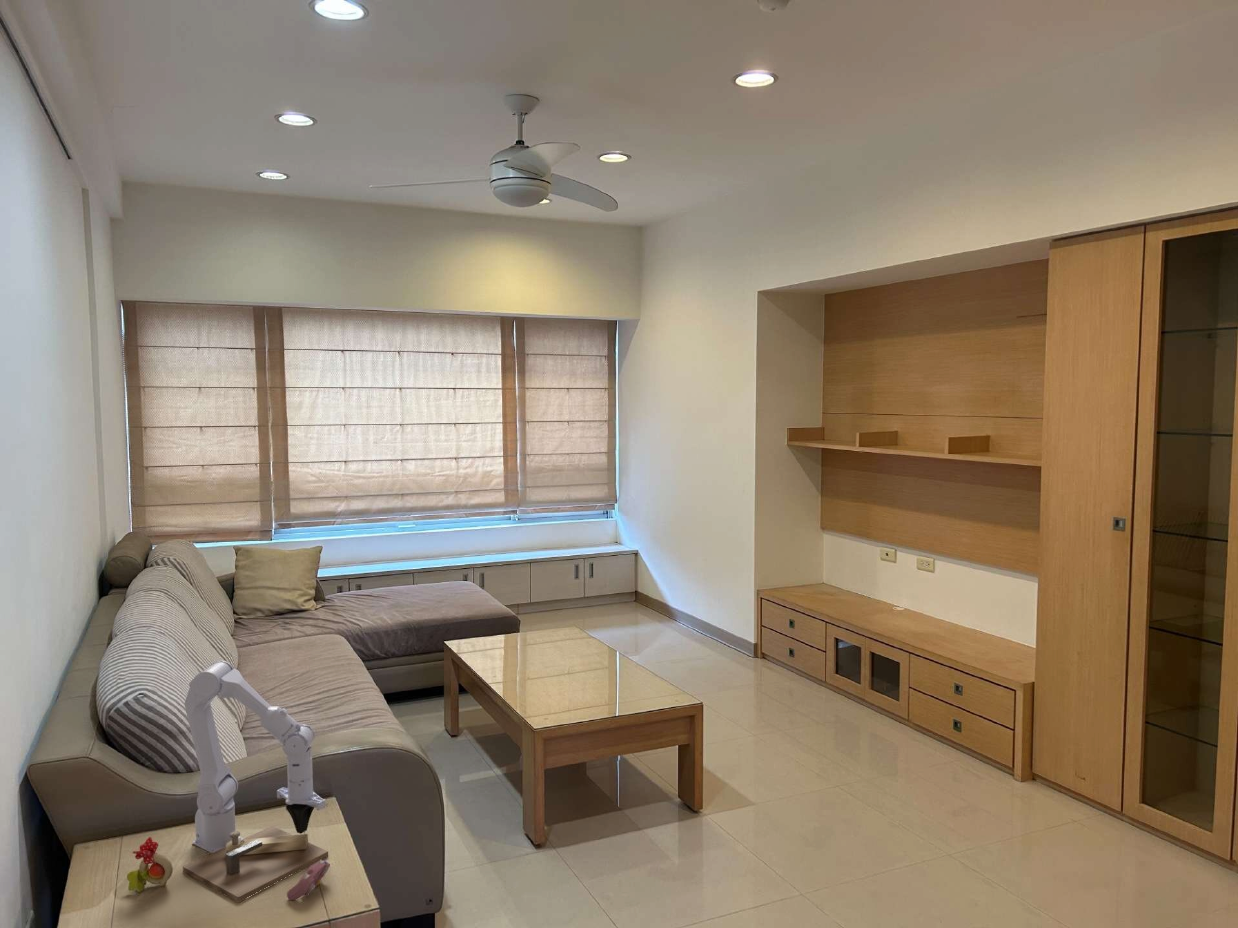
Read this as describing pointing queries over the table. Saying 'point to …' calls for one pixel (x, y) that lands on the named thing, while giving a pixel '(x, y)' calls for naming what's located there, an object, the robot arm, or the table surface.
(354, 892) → the table surface
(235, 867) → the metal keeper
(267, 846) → the wooden link
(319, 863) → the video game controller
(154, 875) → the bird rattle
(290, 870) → the walnut board
